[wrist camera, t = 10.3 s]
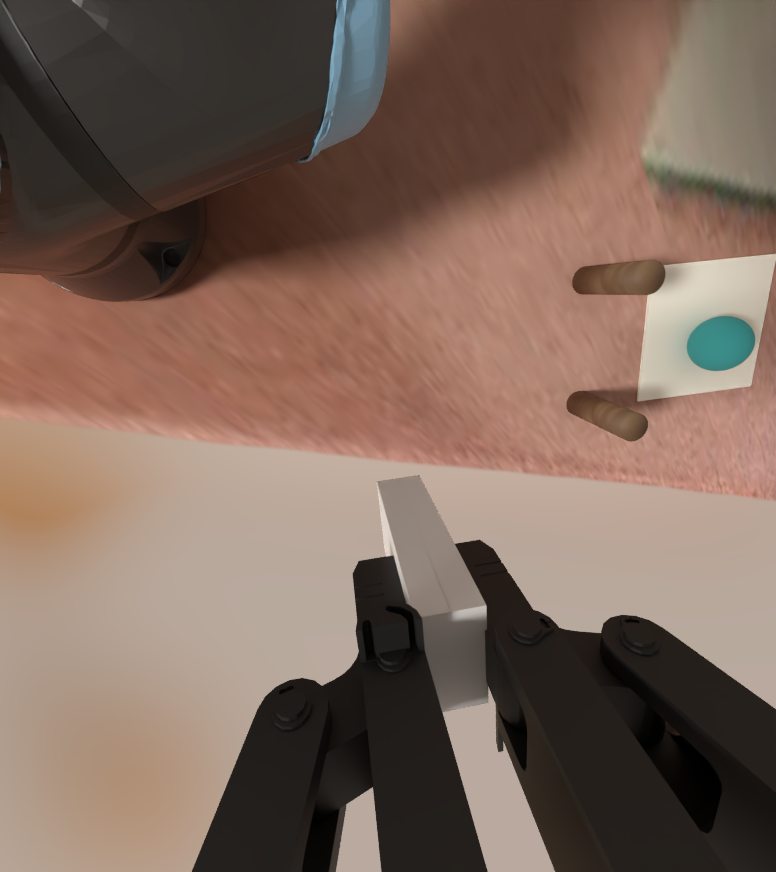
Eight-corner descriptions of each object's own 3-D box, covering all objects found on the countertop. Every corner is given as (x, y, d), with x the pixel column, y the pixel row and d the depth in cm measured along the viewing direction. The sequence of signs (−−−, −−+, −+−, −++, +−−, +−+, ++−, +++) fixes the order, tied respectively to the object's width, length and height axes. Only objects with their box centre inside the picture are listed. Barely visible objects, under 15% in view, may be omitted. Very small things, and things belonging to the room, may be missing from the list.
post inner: (573, 267, 41) (636, 261, 33) (598, 265, 42) (667, 258, 33) (571, 295, 42) (633, 296, 34) (596, 292, 43) (663, 293, 34)
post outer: (567, 392, 46) (622, 415, 37) (589, 389, 46) (649, 411, 37) (566, 415, 46) (619, 443, 38) (588, 412, 47) (646, 439, 38)
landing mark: (650, 266, 42) (652, 266, 42) (775, 253, 44) (776, 253, 44) (636, 401, 47) (637, 401, 47) (749, 385, 49) (751, 386, 48)
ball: (744, 313, 44) (683, 316, 46) (772, 315, 39) (702, 318, 41) (734, 366, 46) (675, 367, 47) (760, 375, 41) (693, 375, 42)
